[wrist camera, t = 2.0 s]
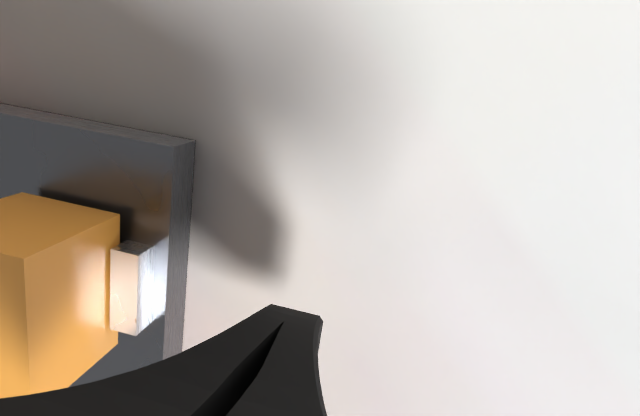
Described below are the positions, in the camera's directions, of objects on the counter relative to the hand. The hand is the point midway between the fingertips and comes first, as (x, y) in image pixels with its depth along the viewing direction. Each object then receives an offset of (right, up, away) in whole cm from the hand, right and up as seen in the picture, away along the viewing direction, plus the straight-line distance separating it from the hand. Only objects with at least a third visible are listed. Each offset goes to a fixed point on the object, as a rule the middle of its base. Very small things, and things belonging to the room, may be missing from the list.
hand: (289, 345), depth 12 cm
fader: (-6, +2, +2) cm, 7 cm away
